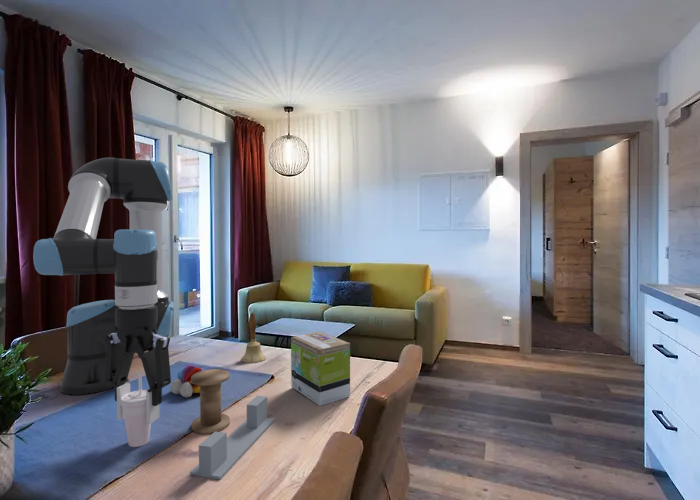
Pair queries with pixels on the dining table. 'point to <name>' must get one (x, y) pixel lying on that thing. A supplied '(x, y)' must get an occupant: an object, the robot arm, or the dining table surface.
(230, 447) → the board with upright blocks
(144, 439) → the smoothie
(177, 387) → the rainbow toy
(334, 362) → the tea box
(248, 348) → the hand bell
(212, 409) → the bobbin
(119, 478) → the dining table surface
